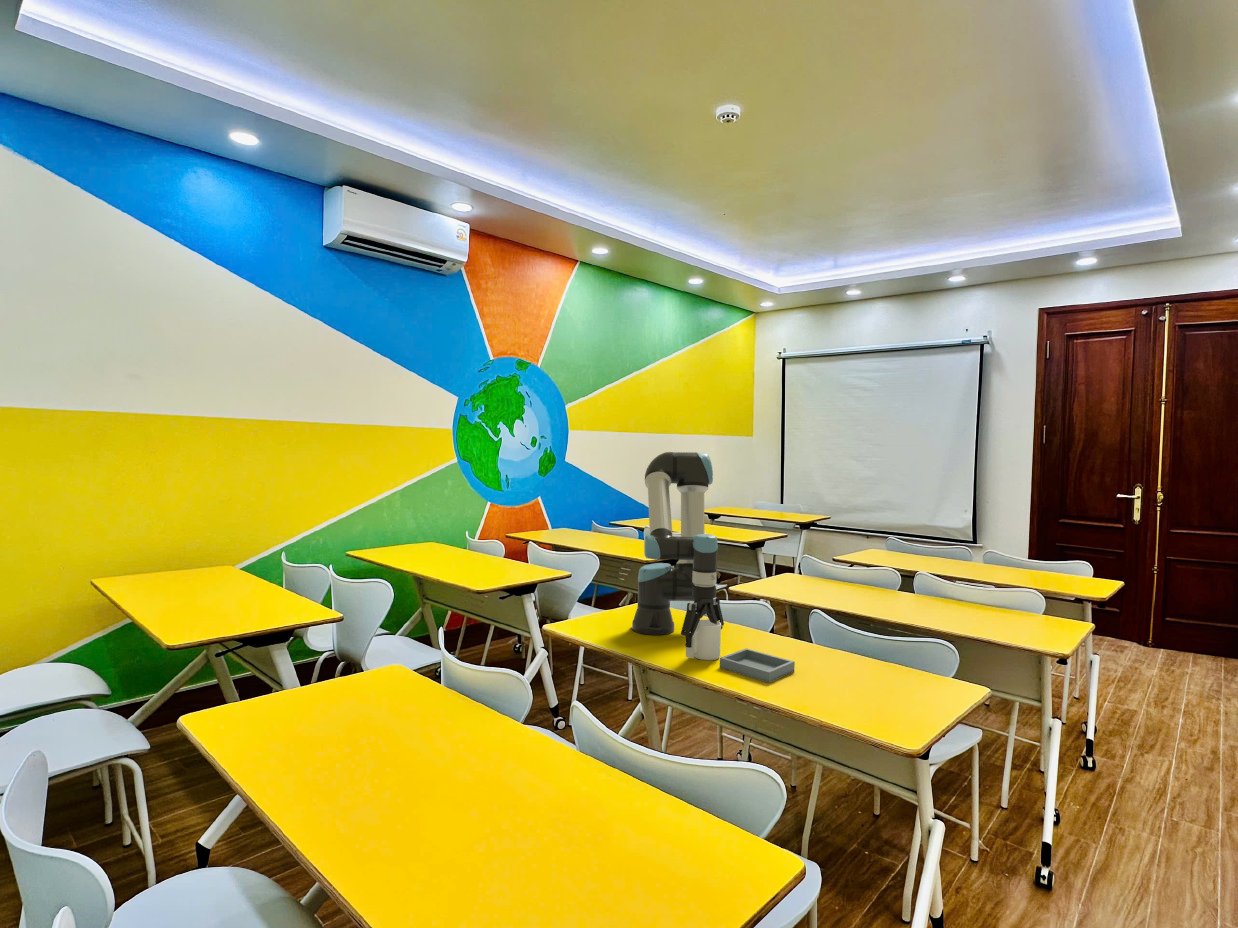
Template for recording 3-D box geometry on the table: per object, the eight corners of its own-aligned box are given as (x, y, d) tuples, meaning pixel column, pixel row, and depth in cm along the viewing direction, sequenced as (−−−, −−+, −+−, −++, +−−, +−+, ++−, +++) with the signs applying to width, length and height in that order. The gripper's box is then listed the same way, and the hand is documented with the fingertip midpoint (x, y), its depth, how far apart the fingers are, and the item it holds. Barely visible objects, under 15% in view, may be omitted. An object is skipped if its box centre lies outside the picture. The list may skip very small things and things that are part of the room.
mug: (678, 656, 211) (679, 622, 210) (708, 650, 217) (709, 617, 216) (695, 664, 203) (696, 629, 203) (725, 658, 209) (726, 624, 209)
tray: (719, 667, 200) (719, 657, 200) (745, 657, 210) (746, 648, 210) (769, 682, 189) (769, 672, 188) (794, 671, 199) (794, 661, 199)
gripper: (689, 591, 198) (687, 664, 199) (736, 581, 215) (734, 647, 216) (670, 587, 203) (668, 658, 204) (717, 577, 220) (715, 642, 221)
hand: (702, 653), depth 210 cm, fingers closed on mug, 12 cm apart
